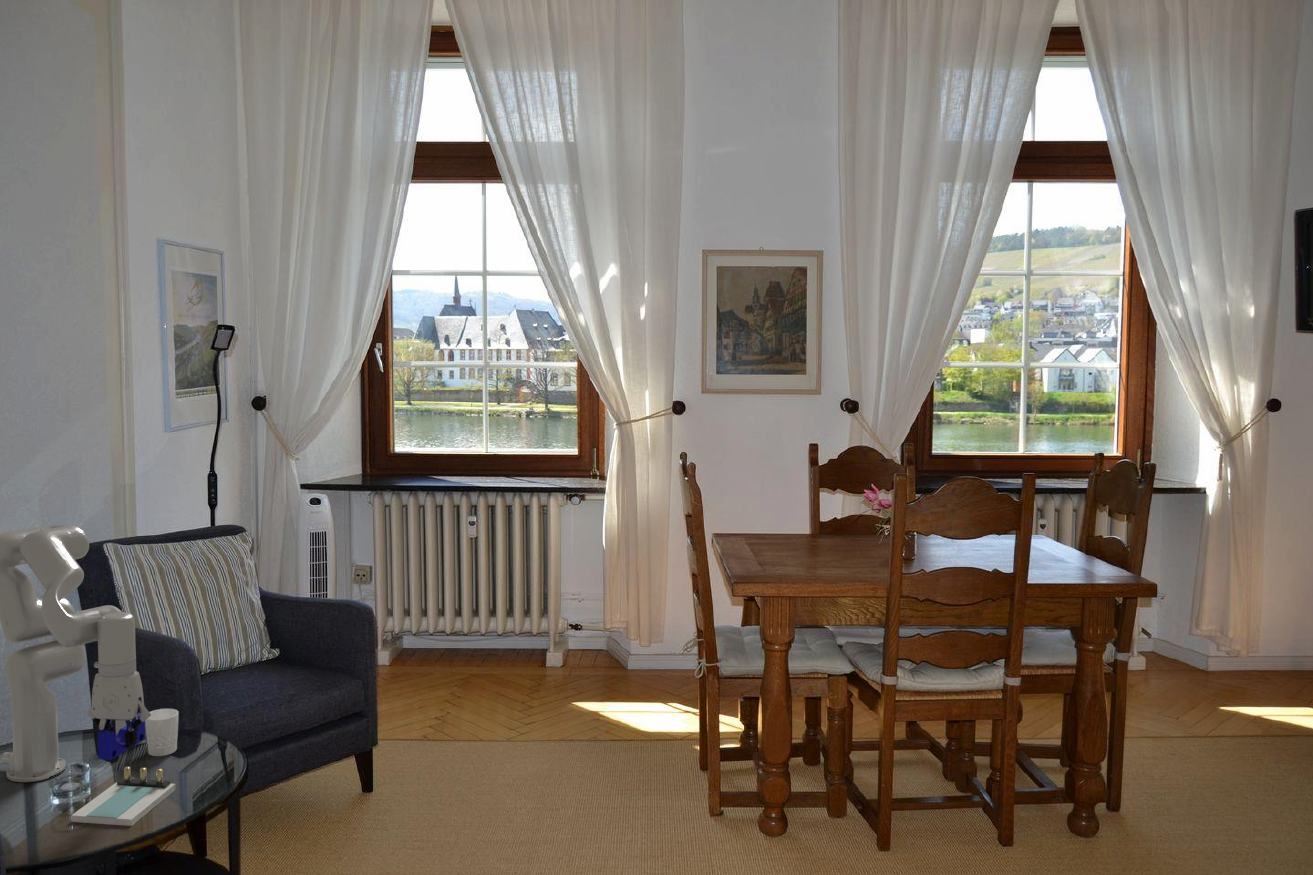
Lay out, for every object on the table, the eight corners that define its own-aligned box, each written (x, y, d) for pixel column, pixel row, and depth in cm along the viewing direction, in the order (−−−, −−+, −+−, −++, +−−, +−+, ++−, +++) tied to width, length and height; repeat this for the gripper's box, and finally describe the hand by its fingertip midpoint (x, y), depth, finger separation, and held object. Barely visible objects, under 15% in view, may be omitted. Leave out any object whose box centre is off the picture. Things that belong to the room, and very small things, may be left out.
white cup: (162, 759, 264) (161, 721, 263) (138, 754, 267) (137, 717, 266) (186, 747, 272) (185, 711, 271) (162, 743, 274) (161, 706, 273)
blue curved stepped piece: (127, 737, 243) (127, 712, 242) (145, 739, 242) (144, 714, 241) (92, 757, 231) (91, 731, 230) (110, 759, 230) (109, 733, 230)
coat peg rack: (117, 784, 246) (116, 768, 246) (122, 781, 248) (121, 765, 248) (165, 788, 245) (165, 771, 245) (170, 784, 247) (169, 768, 247)
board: (71, 821, 231) (71, 814, 231) (119, 786, 249) (119, 779, 249) (131, 825, 230) (131, 818, 230) (175, 789, 248) (175, 782, 248)
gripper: (71, 671, 231) (73, 749, 233) (144, 675, 230) (146, 754, 232) (91, 660, 239) (94, 736, 241) (162, 664, 238) (164, 740, 240)
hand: (119, 744), depth 236 cm, fingers closed on blue curved stepped piece, 4 cm apart
